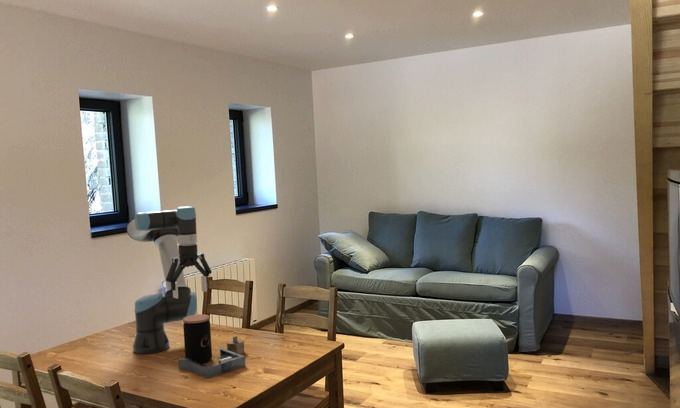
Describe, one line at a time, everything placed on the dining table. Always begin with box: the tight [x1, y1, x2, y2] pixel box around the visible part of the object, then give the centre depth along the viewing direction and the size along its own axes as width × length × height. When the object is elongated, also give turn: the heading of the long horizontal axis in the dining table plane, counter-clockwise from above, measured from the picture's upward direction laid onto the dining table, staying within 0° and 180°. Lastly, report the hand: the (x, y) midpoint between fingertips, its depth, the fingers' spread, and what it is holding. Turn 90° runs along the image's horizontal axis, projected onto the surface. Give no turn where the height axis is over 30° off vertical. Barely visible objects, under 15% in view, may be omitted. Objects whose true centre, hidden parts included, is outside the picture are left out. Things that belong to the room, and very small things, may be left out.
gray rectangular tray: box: [177, 345, 246, 380], centre depth 223 cm, size 19×21×5 cm
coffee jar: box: [182, 313, 213, 365], centre depth 231 cm, size 11×11×18 cm
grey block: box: [226, 335, 245, 355], centre depth 238 cm, size 5×5×7 cm
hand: (190, 294), depth 236 cm, fingers open, 13 cm apart
